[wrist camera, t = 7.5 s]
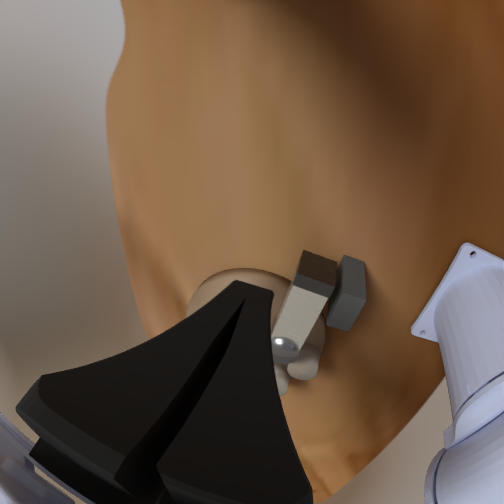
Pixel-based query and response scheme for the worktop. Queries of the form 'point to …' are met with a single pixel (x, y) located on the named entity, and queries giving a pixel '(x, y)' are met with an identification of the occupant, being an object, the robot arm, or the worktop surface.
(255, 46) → the worktop surface
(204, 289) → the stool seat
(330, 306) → the block
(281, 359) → the hinged leg
